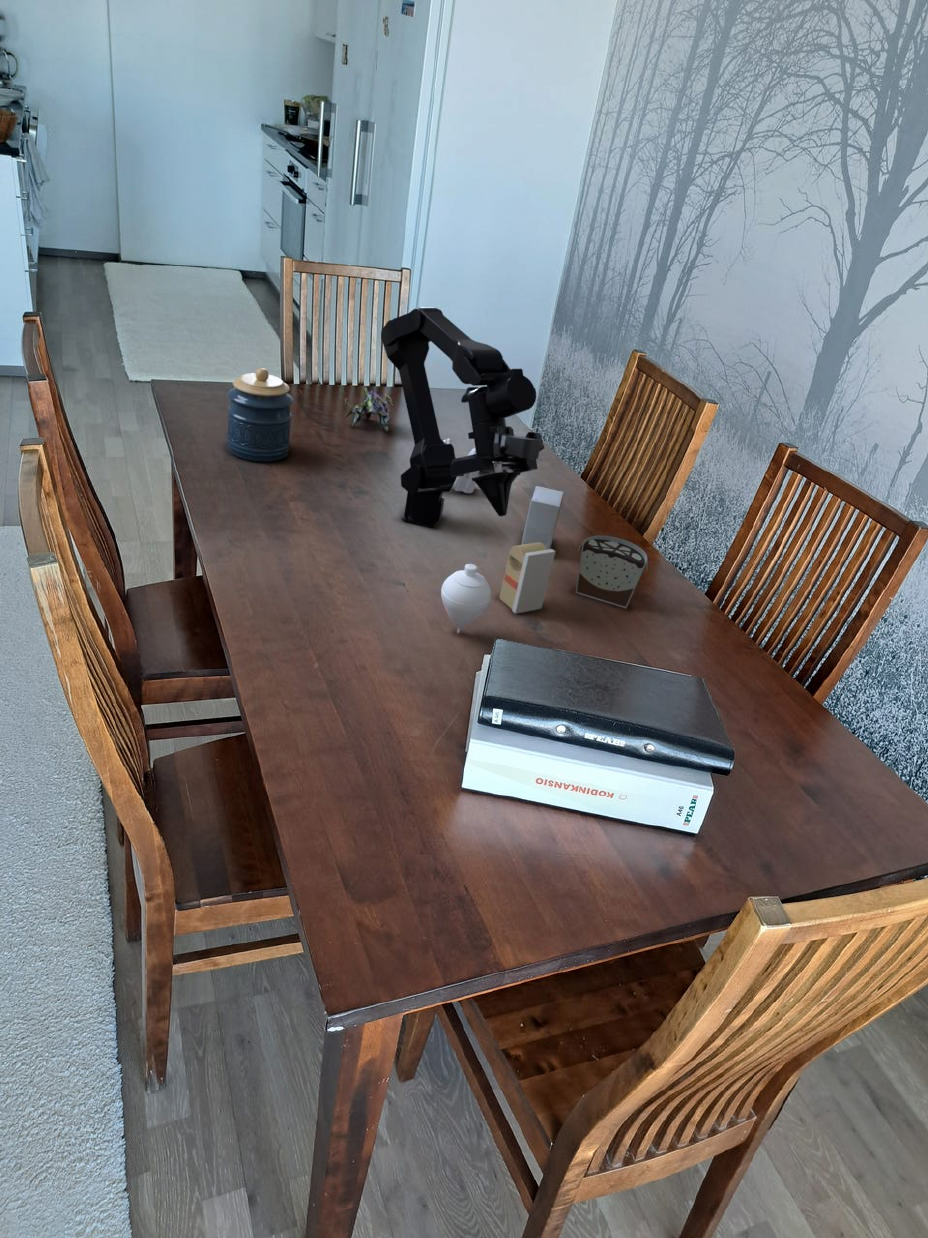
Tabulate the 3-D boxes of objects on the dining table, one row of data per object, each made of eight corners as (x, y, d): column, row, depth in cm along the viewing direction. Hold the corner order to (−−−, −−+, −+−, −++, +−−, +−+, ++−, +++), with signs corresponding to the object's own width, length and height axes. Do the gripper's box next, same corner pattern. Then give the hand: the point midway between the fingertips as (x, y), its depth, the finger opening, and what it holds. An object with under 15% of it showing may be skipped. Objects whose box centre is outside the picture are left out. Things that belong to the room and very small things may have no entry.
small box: (548, 557, 170) (560, 507, 165) (519, 550, 171) (530, 500, 165) (552, 540, 177) (564, 491, 172) (525, 534, 178) (536, 484, 172)
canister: (301, 454, 193) (308, 372, 184) (259, 468, 183) (263, 382, 174) (256, 434, 198) (260, 354, 189) (212, 447, 188) (215, 363, 179)
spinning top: (447, 649, 137) (460, 580, 131) (425, 623, 143) (437, 556, 137) (490, 643, 141) (505, 576, 135) (468, 617, 146) (481, 552, 140)
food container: (640, 596, 163) (655, 547, 158) (634, 611, 158) (650, 561, 153) (574, 576, 165) (587, 527, 160) (567, 590, 160) (580, 540, 155)
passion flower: (381, 451, 217) (400, 424, 207) (337, 441, 212) (355, 412, 202) (380, 413, 221) (399, 384, 212) (338, 402, 217) (355, 372, 207)
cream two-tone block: (496, 597, 154) (509, 540, 148) (522, 592, 157) (535, 536, 151) (515, 614, 150) (528, 555, 144) (541, 608, 153) (555, 551, 147)
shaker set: (422, 492, 187) (430, 441, 181) (418, 483, 190) (426, 433, 184) (478, 495, 190) (487, 445, 185) (473, 487, 194) (482, 438, 188)
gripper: (499, 410, 140) (514, 511, 141) (556, 415, 155) (570, 505, 156) (441, 425, 147) (456, 521, 148) (502, 429, 162) (515, 515, 163)
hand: (502, 515), depth 153 cm, fingers closed
